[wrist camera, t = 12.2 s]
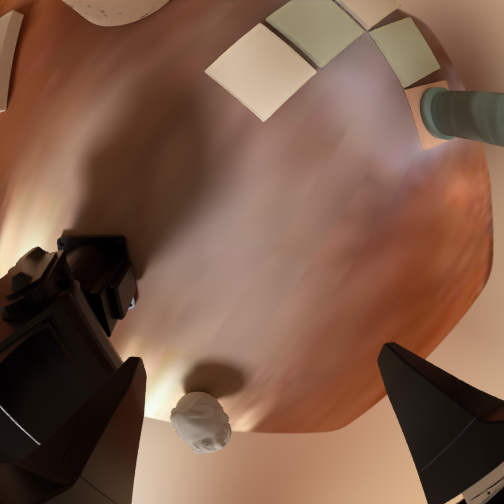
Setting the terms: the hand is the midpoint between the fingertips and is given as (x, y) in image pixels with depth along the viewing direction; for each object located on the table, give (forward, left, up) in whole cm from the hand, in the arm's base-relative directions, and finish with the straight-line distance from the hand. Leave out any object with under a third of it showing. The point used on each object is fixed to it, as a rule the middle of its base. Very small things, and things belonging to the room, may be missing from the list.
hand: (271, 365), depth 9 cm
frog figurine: (-4, -19, -13) cm, 23 cm away
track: (+9, +17, -13) cm, 23 cm away
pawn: (+17, +12, -12) cm, 24 cm away
